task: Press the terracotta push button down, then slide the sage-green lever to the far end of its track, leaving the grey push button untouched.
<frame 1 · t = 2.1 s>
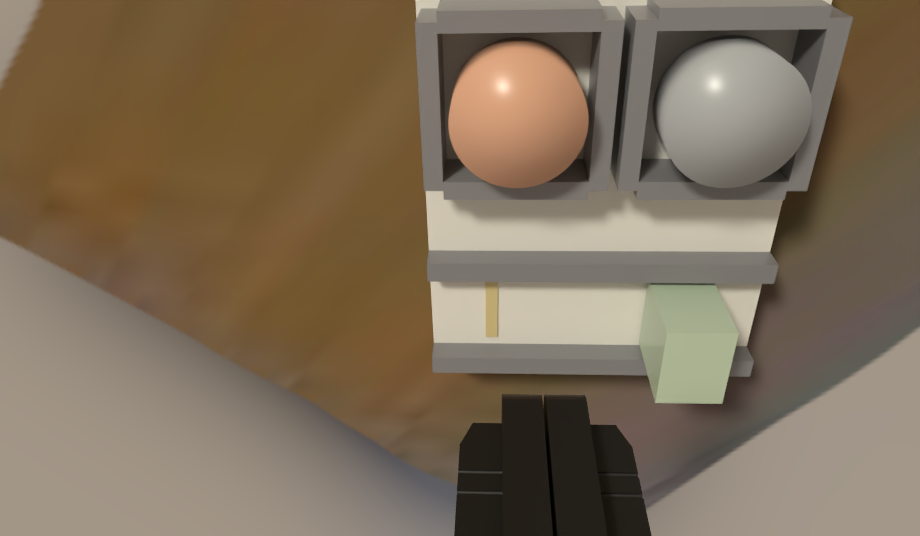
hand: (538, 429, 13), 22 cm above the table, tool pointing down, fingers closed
terracotta button: (517, 113, 27), point 6 cm above the table, slide at 0.0 cm
sage slider: (684, 338, 33), point 5 cm above the table, slide at 0.0 cm
grey button: (728, 112, 27), point 6 cm above the table, slide at 0.0 cm
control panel: (594, 172, 34), on the table
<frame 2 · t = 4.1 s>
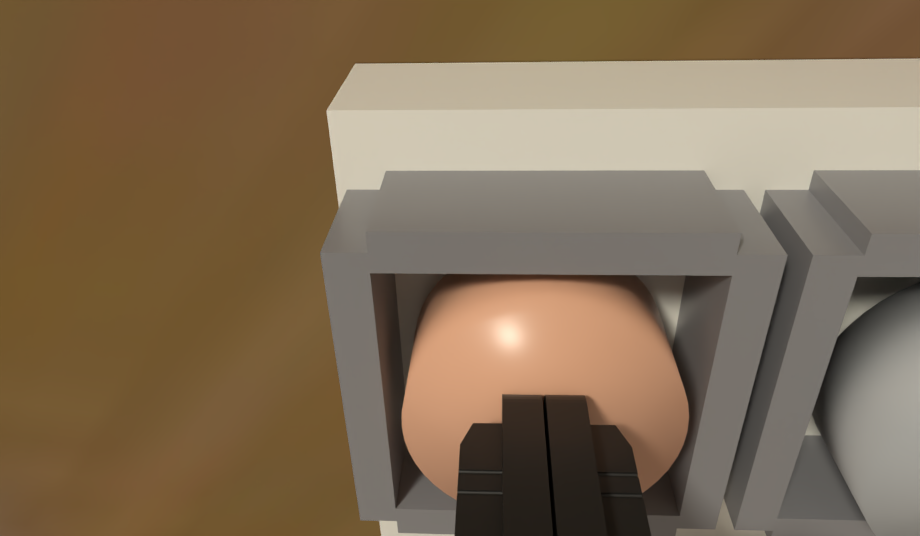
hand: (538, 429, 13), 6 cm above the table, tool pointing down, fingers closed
terracotta button: (539, 384, 14), point 5 cm above the table, slide at 0.9 cm, touching gripper
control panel: (664, 407, 20), on the table
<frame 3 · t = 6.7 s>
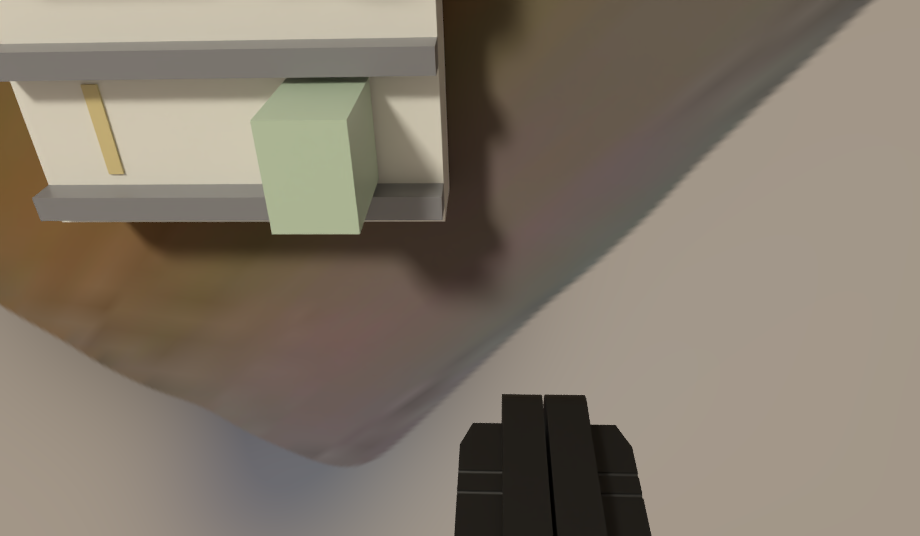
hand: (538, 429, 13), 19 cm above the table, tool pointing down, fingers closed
sage slider: (321, 153, 24), point 5 cm above the table, slide at 0.0 cm
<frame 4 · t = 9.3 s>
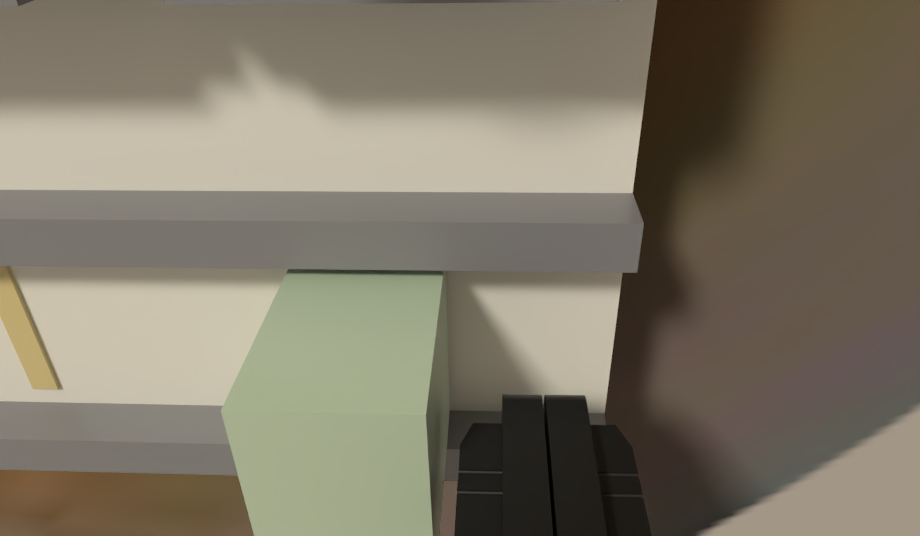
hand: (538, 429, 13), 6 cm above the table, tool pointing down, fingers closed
sage slider: (360, 408, 13), point 5 cm above the table, slide at 1.0 cm, touching gripper
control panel: (235, 10, 15), on the table
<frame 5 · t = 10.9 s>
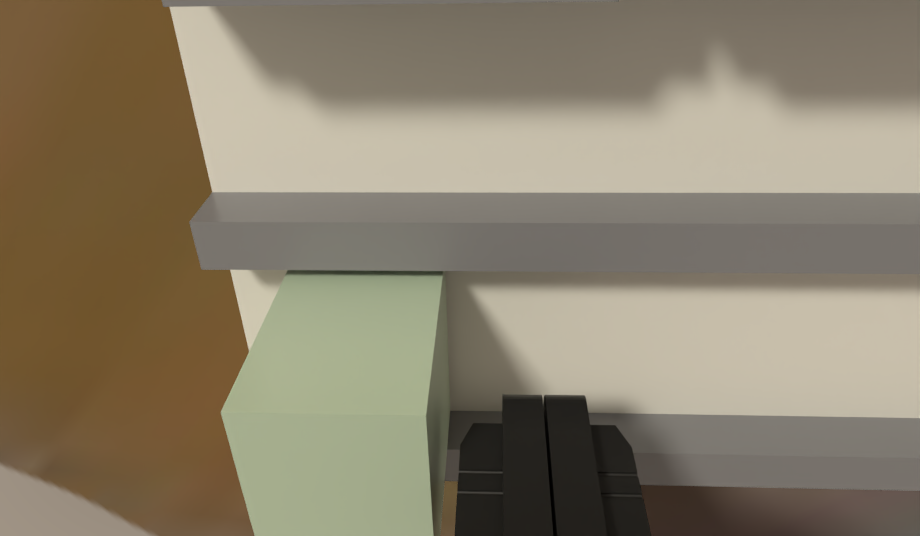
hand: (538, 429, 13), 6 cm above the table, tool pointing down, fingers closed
sage slider: (360, 409, 13), point 5 cm above the table, slide at 9.0 cm, touching gripper
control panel: (623, 6, 14), on the table
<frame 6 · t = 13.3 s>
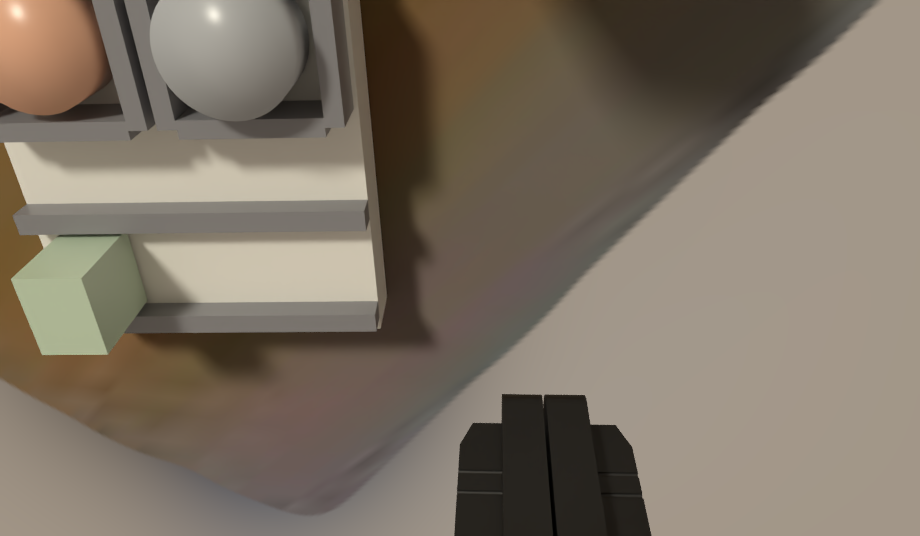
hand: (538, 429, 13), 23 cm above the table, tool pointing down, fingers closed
terracotta button: (39, 41, 27), point 4 cm above the table, slide at 1.1 cm
sage slider: (85, 290, 32), point 5 cm above the table, slide at 9.1 cm
grey button: (233, 43, 26), point 6 cm above the table, slide at 0.0 cm
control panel: (205, 124, 34), on the table
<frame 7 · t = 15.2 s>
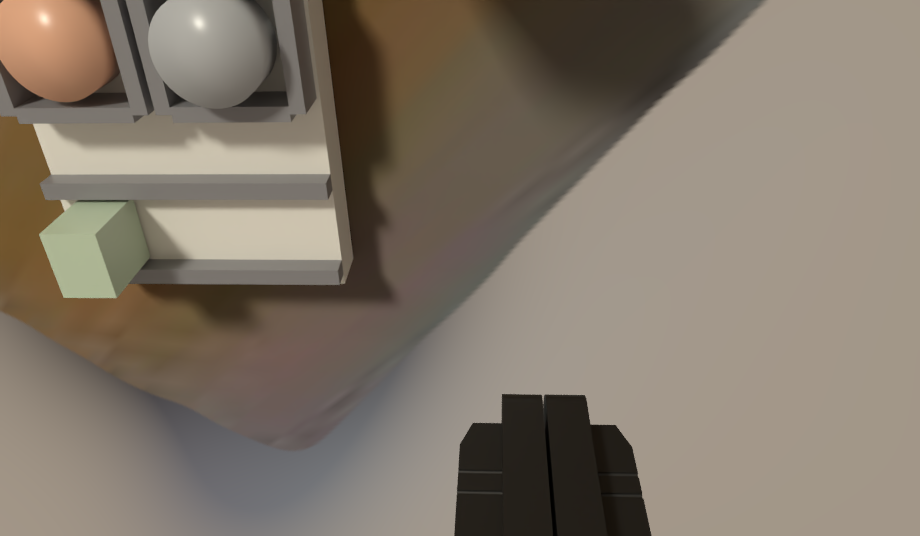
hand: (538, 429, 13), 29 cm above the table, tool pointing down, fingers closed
terracotta button: (61, 42, 34), point 4 cm above the table, slide at 1.1 cm
sage slider: (98, 246, 39), point 5 cm above the table, slide at 9.1 cm
grey button: (214, 46, 33), point 6 cm above the table, slide at 0.0 cm
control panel: (198, 109, 40), on the table
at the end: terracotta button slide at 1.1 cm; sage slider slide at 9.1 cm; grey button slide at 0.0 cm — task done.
